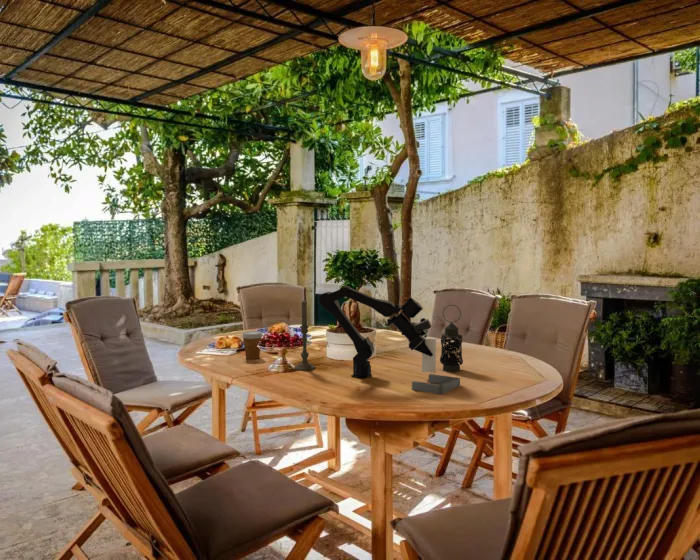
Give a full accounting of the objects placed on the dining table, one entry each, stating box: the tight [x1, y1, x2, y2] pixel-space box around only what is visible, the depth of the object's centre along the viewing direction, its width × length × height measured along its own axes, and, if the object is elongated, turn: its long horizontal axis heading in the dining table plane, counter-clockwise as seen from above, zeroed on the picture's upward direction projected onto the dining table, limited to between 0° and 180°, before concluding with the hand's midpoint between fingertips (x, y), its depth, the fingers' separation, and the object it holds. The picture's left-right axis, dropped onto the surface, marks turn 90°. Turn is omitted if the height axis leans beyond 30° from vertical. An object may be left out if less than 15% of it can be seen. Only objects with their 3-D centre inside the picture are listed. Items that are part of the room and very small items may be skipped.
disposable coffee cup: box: [241, 330, 263, 360], centre depth 282 cm, size 10×10×12 cm
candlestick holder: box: [294, 299, 316, 371], centre depth 258 cm, size 9×9×30 cm
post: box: [421, 337, 437, 374], centre depth 238 cm, size 5×5×13 cm
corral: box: [411, 373, 461, 395], centre depth 224 cm, size 12×15×3 cm
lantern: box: [439, 304, 464, 373], centre depth 252 cm, size 10×9×28 cm
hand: (432, 354), depth 237 cm, fingers closed on post, 5 cm apart
